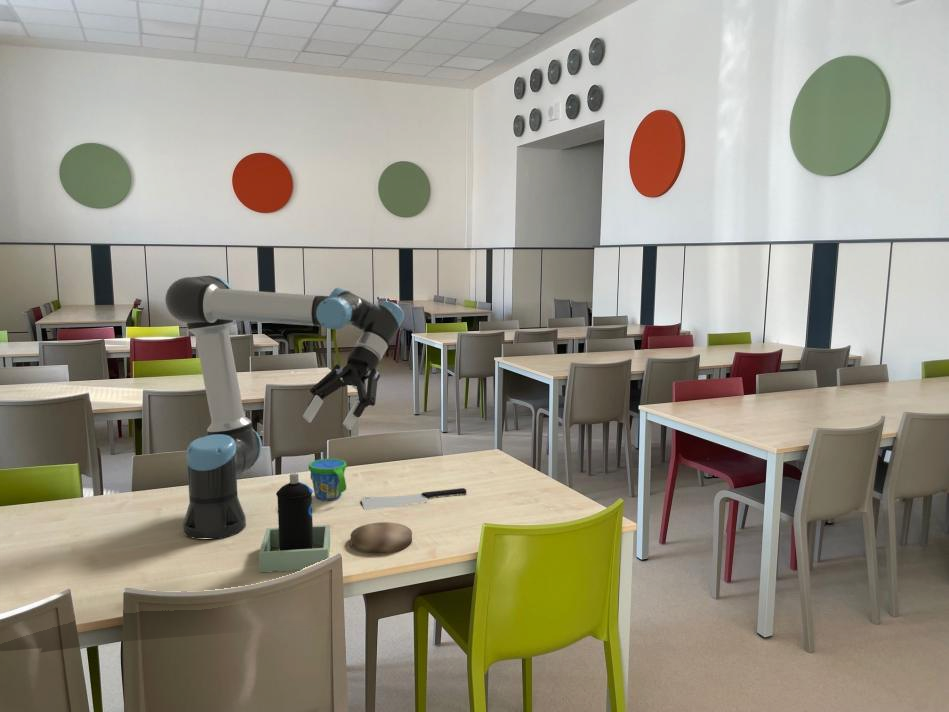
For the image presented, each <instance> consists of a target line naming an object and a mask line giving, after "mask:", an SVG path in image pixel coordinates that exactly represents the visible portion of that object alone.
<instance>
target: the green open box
mask: <svg viewBox="0 0 949 712" xmlns="http://www.w3.org/2000/svg"><path fill="white" fill-rule="evenodd" d="M330 525H331V524H318V525H313V546H315V545H323V547H319V548H318V547H317V548H314V547H313V549H298V550H282V551H279V550H270V549H272V548H279V527H267V528H266V529H265V532H264V535H263V539H262V543H261V544H260V549H259V551H258V567H259V571H258V572H259V574H261V573H260V572H267V573H272V572H271V571H282V572H293V571H294V572H295V571H302V570H301V569H303V568H305V567H308V566H310V565H313V564H315V563H317V562H320V561H322V560H325V559H327V558H329V559H330V552H331V551H330V550H331V526H330ZM269 571H270V572H269Z"/></svg>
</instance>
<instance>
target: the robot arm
mask: <svg viewBox="0 0 949 712" xmlns="http://www.w3.org/2000/svg"><path fill="white" fill-rule="evenodd" d="M164 300H165V305H166V308H167V311H168V312H169V314H170V315H171V316H172V317H174V318H175V319H176V320H177V321H180V322H182V323H186V326H187V327H186V328H187V331H188V332H190V333H191V334H193V335H194V336H195V342H196V347H197V351H198V353H197V354H198V357H199V363H200V369H201V373H202V374H201V375H202V378H203V384H204V388H205V389H204V390H205V393H206V399H207V405H208V410H209V416H210V421H211V423H210V425H209V426H208V427H207V429H206V432H207V435H205V436H202V437H198V438H196V439H194V440H192V441H191V442H190V443H189V444H188V446H187V448H186V449H187V450H186V459H185V460H186V461H185V462H186V465H187V480H188V495H189V496H188V497H189V501H188V502H189V503H188V507H187V510H186V514H185V516H184V519H183V534H184V533H185V534H186V535H187V536H189V537H188V538H190V537H194V538H217V539H221V538H220V537H223V538H226V536H227V537H230V535H231V536H234V535H236V534H238V533H240V532H242V531H243V530H245V528H246V526H247V518H246V515H245V512H244V509H243V507H242V505H241V502H240V499H239V496H238V477H239V476H240V475H242V474H243V473H244V472H246V471H247V470H249V469H250V468H252V467H253V466H254V465H255V464H256V463H257V461H258V459H259V458H260V457H261V454H262V450H263V444H262V443H263V442H262V439H261V437H260V434H259V433H258V432H257V431H255V429H254V427H253V423H252V420H251V419H250V418H248V417H246V416H245V411H244V405H243V401H242V396H241V390H240V389H241V388H240V384H239V380H238V379H239V378H238V375H237V369H236V362H235V358H234V352H233V348H232V342H231V337H230V328H232V326H233V325H234V321H240V322H256V323H271V324H285V325H299V326H312V327H313V326H314V327H324V328H326V329H330V330H339V329H342V328H344V327H345V326H347V325H350V326H353V327H355V328H357V329H359V330H361V331H363V332H362V333H361V335H360V336H359V338H358V339H357V341H356V342H355V344H354V347H353V348H352V349H351V351H350V353H349V355H348V356H347V358H346V359H347V362H346V365H345V366H344V367H342V366H340V364H335V365H334V366H333V368H332V369H331V370H330V371H329V372H328V373H327V374H326V375H325V376H324V377H323V378H321V380H319V381H318V382H317V383H316V384H315V385H314V386H313V387H311V388H310V390H309V393H311V394H312V398H311V400H309V403H308V405H307V408H306V410H305V411H304V413H303V415H302V416H301V417H302V418H303V419H304V420H305V421H306V422H307V423H309V424H311V423H312V421H313V420H314V418H315V416H316V415H317V413H318V412H319V410H320V408H321V407H322V405H323V403H324V400H323V399H325V398H327V397H328V396H329V395H331V394H333V393H334V392H336V391H337V390H338V389H340V388H344V387H346V386H353V387H356V391H357V397H358V398H357V400H355V401H354V403H353V405H352V407H351V409H349V412H348V413H347V416H346V417H345V419H344V420H343V422H342V425H343V426H344V427H345V428H346V429H347V430H348V431H352V429H353V428H354V425H355V424H356V422H357V420H358V418H360V417H361V416H362V415H363V412H364V411H365V409H366V408H367V407H368V406H371V407H373V406H375V405H376V401H377V390H378V381H379V379H380V377H381V374H380V373H379V372H378V371H377V367H378V365H379V364H380V361H381V360H382V358H383V357H384V355H385V353H386V351H387V350H388V348H389V346H390V344H391V343H392V341H393V340H394V338H395V336H396V335H397V333H398V331H399V330H400V327H401V326H402V323H403V321H404V319H405V312H404V310H403V309H402V308H401V307H400V306H399V305H398V304H396V303H395V302H393V301H388V300H384V301H381V302H380V303H379V304H378V305H377V304H375V303H372V302H370V301H368V300H366V299H364V298H362V297H361V296H359V295H356V294H355V293H352V292H351V291H350V290H346V289H344V288H342V287H336V288H334V289H333V290H332V291H331V292H330V295H314V294H302V293H301V294H300V293H299V294H298V293H288V292H287V293H284V292H272V291H259V290H257V291H255V290H243V289H233V287H232V286H231V284H229V282H227V281H226V280H225V279H223V278H221V277H217V276H212V275H201V276H188V277H183V278H182V277H181V278H179V279H177V280H175V281H174V282H173V283H171V284H170V285H169V287H168V288H167V291H166V294H165V299H164ZM366 380H367V384H366ZM185 534H184V535H185ZM233 534H234V535H233ZM186 535H185V536H186ZM187 536H186V537H187ZM194 538H193V539H194Z"/></svg>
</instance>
